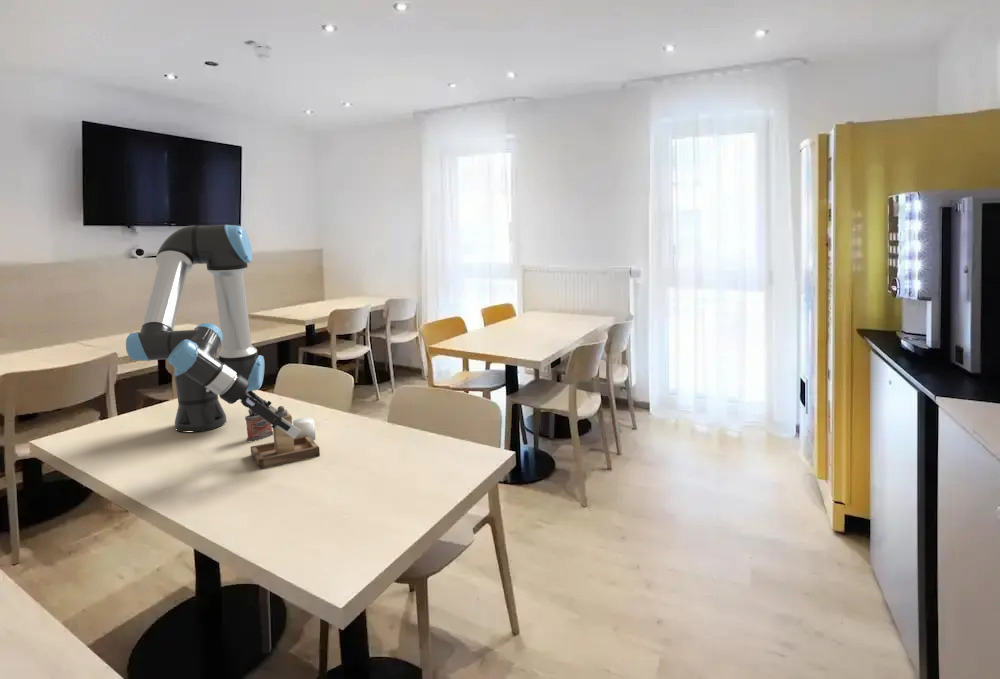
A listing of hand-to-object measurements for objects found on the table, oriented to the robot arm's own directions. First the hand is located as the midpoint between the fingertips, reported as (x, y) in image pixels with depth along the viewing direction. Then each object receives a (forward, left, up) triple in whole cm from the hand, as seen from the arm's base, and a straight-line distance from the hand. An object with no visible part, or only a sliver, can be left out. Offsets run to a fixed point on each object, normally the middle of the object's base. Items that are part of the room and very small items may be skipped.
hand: (291, 427), depth 162 cm
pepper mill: (0, -2, -7) cm, 7 cm away
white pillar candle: (-10, +6, -8) cm, 14 cm away
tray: (0, -2, -8) cm, 8 cm away
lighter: (-20, -5, -8) cm, 22 cm away
